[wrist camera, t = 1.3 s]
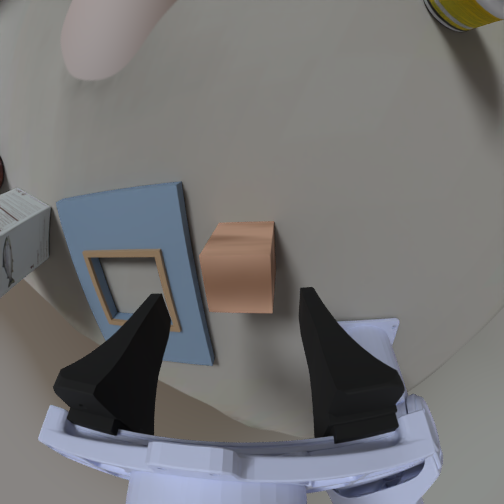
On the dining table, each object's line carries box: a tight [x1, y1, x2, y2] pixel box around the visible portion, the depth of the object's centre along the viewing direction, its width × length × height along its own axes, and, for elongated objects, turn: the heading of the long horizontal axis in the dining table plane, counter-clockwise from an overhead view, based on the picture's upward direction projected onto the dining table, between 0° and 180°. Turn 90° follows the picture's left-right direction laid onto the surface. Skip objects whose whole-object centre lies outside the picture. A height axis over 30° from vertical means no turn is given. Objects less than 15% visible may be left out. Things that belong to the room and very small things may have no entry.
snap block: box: [199, 221, 276, 313], centre depth 21 cm, size 4×4×6 cm
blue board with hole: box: [56, 182, 214, 366], centre depth 26 cm, size 20×14×2 cm
